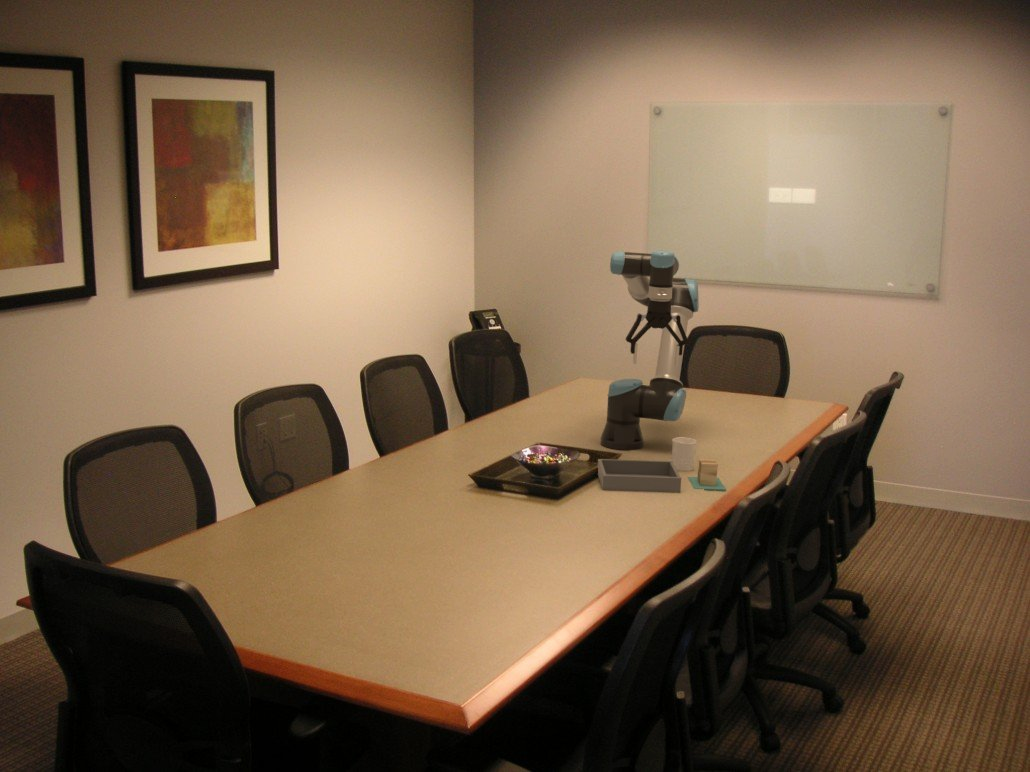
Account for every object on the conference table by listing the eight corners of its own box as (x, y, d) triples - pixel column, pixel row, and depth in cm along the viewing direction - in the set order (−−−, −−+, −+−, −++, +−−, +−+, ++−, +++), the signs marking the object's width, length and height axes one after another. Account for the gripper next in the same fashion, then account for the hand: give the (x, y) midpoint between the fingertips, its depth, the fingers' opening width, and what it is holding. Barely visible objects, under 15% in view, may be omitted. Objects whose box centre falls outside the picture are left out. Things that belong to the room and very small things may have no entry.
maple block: (697, 480, 350) (698, 459, 349) (712, 480, 350) (714, 459, 349) (700, 485, 345) (701, 463, 344) (715, 485, 345) (717, 464, 344)
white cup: (693, 473, 359) (696, 444, 357) (669, 471, 360) (671, 442, 358) (694, 467, 366) (697, 438, 364) (671, 464, 368) (673, 436, 366)
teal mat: (687, 478, 354) (687, 476, 354) (718, 479, 354) (718, 477, 354) (694, 490, 342) (694, 488, 342) (725, 491, 342) (726, 489, 342)
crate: (597, 473, 355) (598, 458, 354) (671, 476, 356) (672, 461, 354) (602, 491, 337) (603, 475, 336) (680, 493, 338) (681, 478, 337)
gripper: (622, 299, 349) (618, 365, 353) (700, 302, 349) (695, 367, 354) (619, 296, 356) (616, 360, 361) (696, 299, 357) (691, 363, 361)
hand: (655, 364), depth 357 cm, fingers open, 13 cm apart
